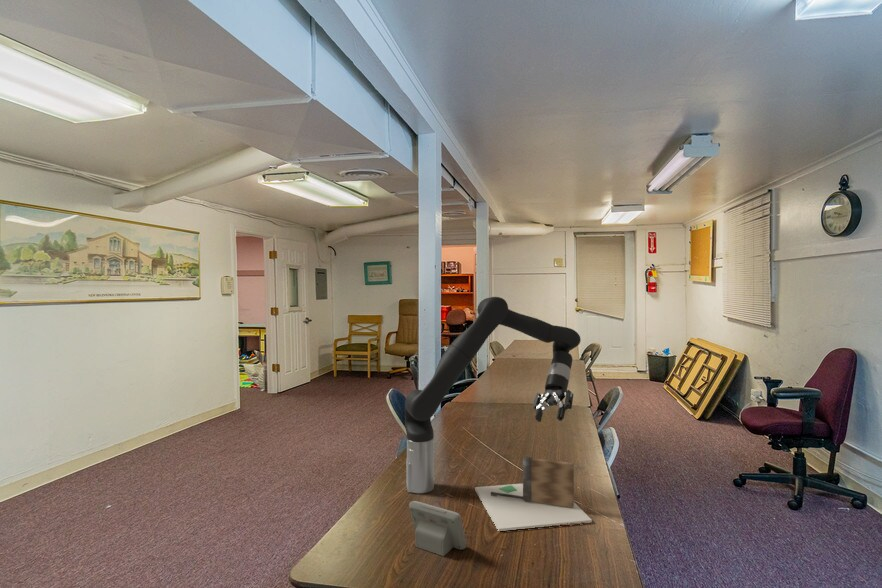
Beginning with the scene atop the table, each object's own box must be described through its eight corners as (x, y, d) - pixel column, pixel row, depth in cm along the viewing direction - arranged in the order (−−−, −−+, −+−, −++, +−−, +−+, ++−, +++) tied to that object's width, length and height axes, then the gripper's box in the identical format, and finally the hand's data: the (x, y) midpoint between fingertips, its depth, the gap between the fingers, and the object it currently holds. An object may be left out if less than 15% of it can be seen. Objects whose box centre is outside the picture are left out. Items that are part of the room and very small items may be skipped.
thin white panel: (498, 532, 132) (498, 528, 132) (475, 490, 159) (475, 486, 159) (591, 523, 136) (591, 519, 136) (553, 483, 164) (553, 480, 164)
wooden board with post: (489, 495, 152) (489, 455, 151) (492, 491, 154) (491, 452, 154) (573, 508, 143) (572, 465, 142) (573, 504, 145) (573, 462, 145)
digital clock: (470, 549, 123) (470, 509, 123) (447, 564, 117) (446, 521, 117) (426, 528, 134) (426, 491, 134) (403, 540, 128) (403, 501, 128)
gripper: (535, 375, 169) (524, 415, 160) (569, 370, 159) (560, 413, 150) (547, 386, 173) (537, 426, 164) (581, 382, 163) (573, 425, 153)
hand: (548, 420), depth 157 cm, fingers open, 8 cm apart
